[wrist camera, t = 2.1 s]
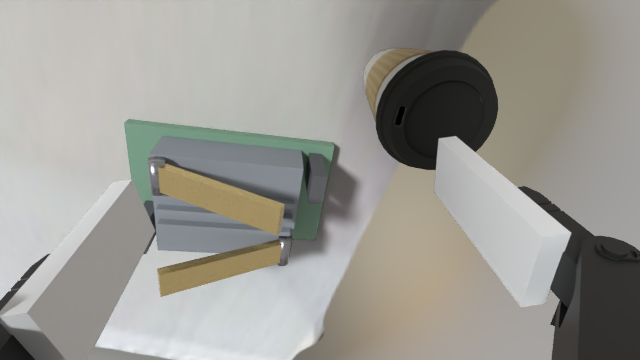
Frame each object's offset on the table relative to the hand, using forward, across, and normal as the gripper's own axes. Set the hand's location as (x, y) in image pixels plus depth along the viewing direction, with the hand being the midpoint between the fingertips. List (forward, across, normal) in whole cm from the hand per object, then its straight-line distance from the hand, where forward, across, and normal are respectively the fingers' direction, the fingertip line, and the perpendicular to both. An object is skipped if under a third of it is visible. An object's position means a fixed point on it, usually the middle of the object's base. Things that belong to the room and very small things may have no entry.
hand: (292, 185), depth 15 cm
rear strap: (+17, -9, -18) cm, 27 cm away
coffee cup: (+26, +12, -2) cm, 29 cm away
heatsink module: (+26, -9, -14) cm, 31 cm away
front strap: (+17, -8, -9) cm, 21 cm away
